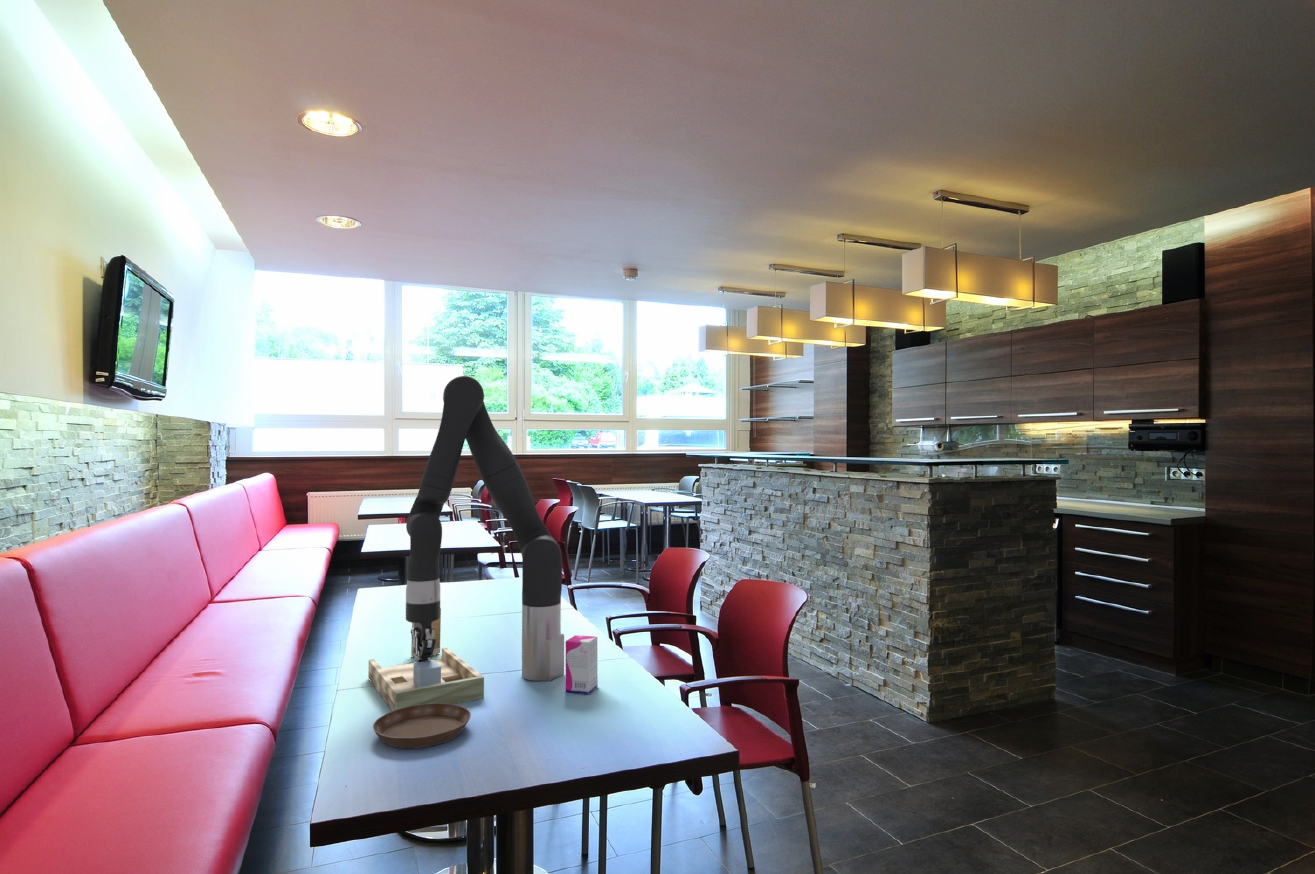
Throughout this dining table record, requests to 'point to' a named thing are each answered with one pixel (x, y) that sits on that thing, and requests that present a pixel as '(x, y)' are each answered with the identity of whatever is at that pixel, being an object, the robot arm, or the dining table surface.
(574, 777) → the dining table surface
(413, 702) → the channel
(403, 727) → the plant saucer
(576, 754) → the dining table surface
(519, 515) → the robot arm
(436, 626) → the skincare box
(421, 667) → the block
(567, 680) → the supplement box
